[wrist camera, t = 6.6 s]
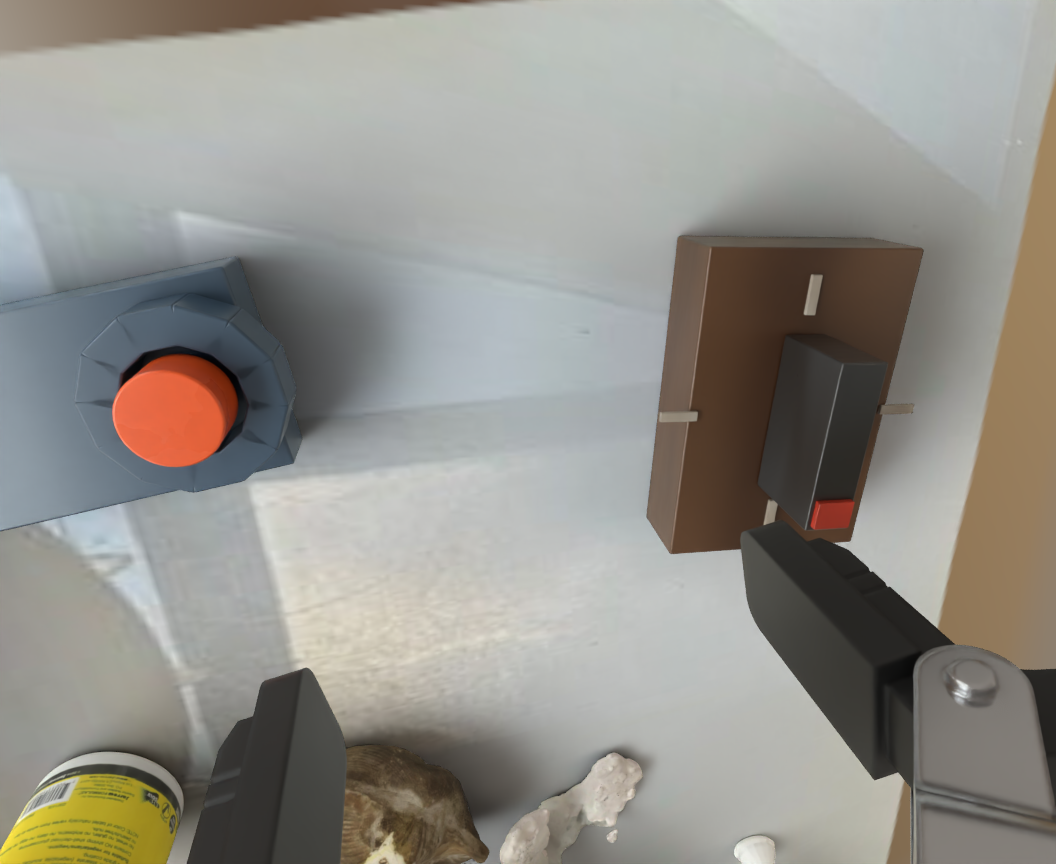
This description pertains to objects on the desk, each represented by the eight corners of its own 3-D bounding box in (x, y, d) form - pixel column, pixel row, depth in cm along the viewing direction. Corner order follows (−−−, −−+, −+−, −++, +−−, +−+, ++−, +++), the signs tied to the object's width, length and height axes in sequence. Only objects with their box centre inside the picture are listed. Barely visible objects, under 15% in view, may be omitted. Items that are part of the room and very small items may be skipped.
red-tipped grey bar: (784, 334, 24) (847, 365, 21) (826, 333, 24) (894, 364, 21) (756, 484, 26) (808, 535, 23) (794, 483, 26) (851, 532, 23)
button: (218, 343, 20) (202, 359, 19) (253, 432, 22) (240, 454, 20) (116, 365, 20) (92, 384, 18) (157, 453, 21) (137, 478, 20)
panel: (897, 237, 26) (956, 249, 24) (834, 505, 31) (877, 542, 28) (648, 234, 25) (680, 246, 22) (621, 518, 29) (644, 559, 27)
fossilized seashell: (529, 828, 33) (403, 684, 30) (469, 986, 27) (311, 829, 25) (427, 828, 37) (309, 703, 34) (359, 964, 32) (214, 829, 29)
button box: (266, 249, 23) (240, 269, 19) (328, 433, 26) (315, 481, 22) (-298, 365, 21) (-442, 411, 18) (-166, 546, 24) (-266, 617, 21)
